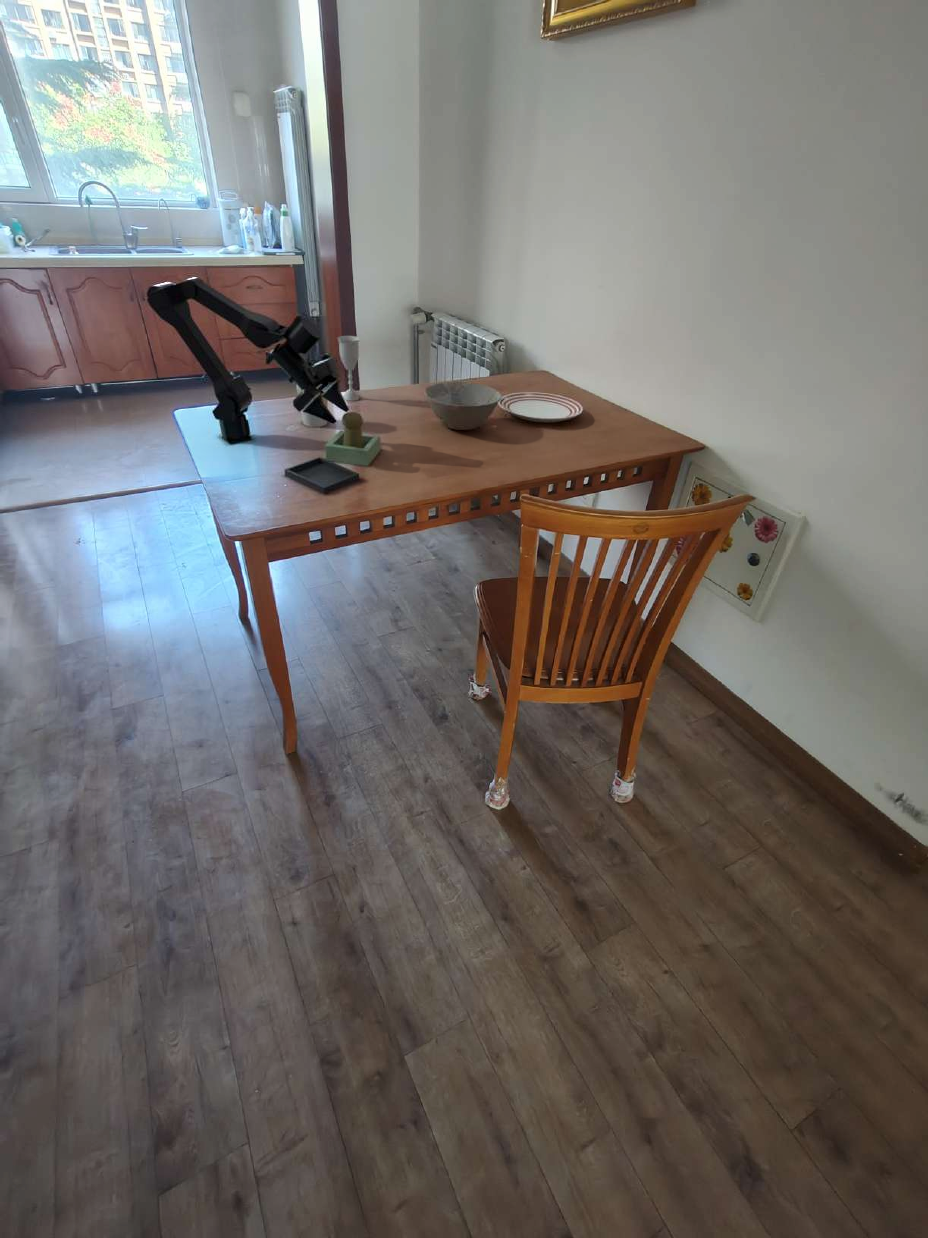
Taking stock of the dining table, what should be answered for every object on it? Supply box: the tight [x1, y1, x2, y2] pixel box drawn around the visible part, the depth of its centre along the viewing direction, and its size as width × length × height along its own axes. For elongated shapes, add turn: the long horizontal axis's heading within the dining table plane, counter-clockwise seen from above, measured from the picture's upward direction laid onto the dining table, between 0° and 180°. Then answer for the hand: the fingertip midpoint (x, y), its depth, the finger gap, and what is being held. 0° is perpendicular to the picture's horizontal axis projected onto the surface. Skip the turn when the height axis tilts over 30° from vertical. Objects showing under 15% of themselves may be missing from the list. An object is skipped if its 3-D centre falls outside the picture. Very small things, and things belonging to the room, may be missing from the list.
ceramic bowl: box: [423, 381, 503, 431], centre depth 176 cm, size 22×23×10 cm
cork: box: [341, 411, 364, 448], centre depth 153 cm, size 6×6×11 cm
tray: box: [284, 456, 360, 495], centre depth 144 cm, size 14×11×2 cm
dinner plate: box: [497, 391, 584, 424], centre depth 192 cm, size 28×27×3 cm
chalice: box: [337, 335, 360, 402], centre depth 187 cm, size 7×7×18 cm
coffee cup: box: [295, 383, 329, 428], centre depth 169 cm, size 9×9×15 cm
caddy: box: [324, 429, 381, 467], centre depth 155 cm, size 11×11×4 cm
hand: (341, 416), depth 151 cm, fingers open, 9 cm apart
